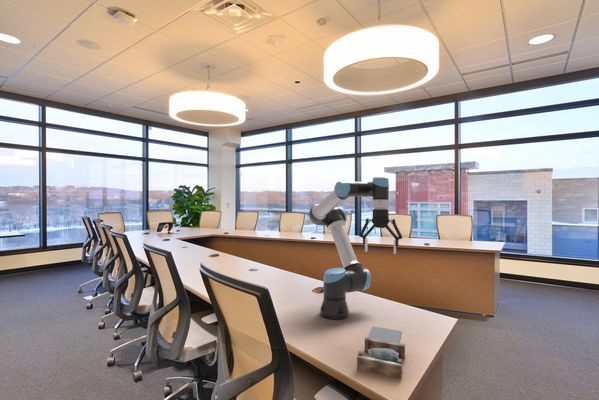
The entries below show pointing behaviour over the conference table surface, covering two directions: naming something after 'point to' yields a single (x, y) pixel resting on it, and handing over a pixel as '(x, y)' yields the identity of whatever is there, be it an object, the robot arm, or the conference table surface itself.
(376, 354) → the packaged food
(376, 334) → the slate mat
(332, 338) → the conference table surface
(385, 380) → the conference table surface
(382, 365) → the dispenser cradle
